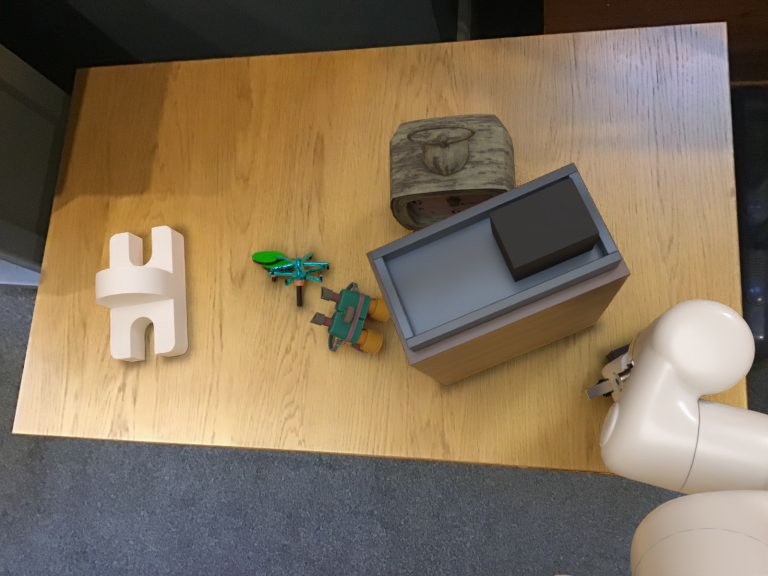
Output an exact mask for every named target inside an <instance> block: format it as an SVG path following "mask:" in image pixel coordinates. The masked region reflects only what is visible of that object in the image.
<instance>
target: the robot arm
mask: <svg viewBox="0 0 768 576" xmlns="http://www.w3.org/2000/svg"><path fill="white" fill-rule="evenodd" d="M629 344H630V346H629V350H628V352H626V353H625V354H623V355H621V356H620V357H618V358H616V359H615V360H613V361H612V362H610V363H609V362H608V363H607V364H606V365H604V367H602V370H601V375H602V378H601V379H598V380H597V382H596V384H594V385H593V386H590V387H588V388H586V389H584V390H583V391H584V393H585V395H586V397H587V399H588V401H590V400H593V399H595V398H597V397H600V396H602V397H605V398H608V397H611V398H612V400H613V402H614V403H613V404H612V405H611V406H610V407H609V409H608V411H607V413H606V415H605V418H604V420H603V424H602V425H601V430H600V432H599V442H598V443H599V449H600V458H601V461H602V463H603V466H605V467H606V469H607V470H609V471H610V472H611V473H613V474H615V475H617V476H619V477H622V478H625V479H628V480H631V481H635V482H639V483H643V484H647V485H651V486H654V487H657V488H661V489H665V490H669V491H673V492H677V493H681V494H685V495H682V496H679V497H675V498H673V499H670V500H667V501H665V502H663V503H662V504H660V505H658V506H656V507H655V508H654V509H653V510H651V511H650V512H648V514H647V515H646V516H645V517H644V518H643V519H642V520H641V521H640V523H639V525H638V526H637V527H636V529H635V532H634V535H633V536H632V539H631V540H632V541H631V544H630V552H629V553H630V554H629V565H630V573H631V576H768V414H766V413H762V412H760V411H755V410H753V409H752V410H751V409H749V408H748V409H747V408H743V407H740V406H735V405H729V404H725V403H721V402H717V401H712V400H708V399H705V398H704V399H703V398H702V397H707V396H711V395H717V394H720V393H724V392H726V391H728V390H730V389H732V388H734V387H735V386H737V385H738V384H739V383H740V382H741V381H743V380H744V378H745V377H746V376H747V375H748V373H749V372H750V370H751V368H752V366H753V363H754V360H755V353H756V348H755V347H756V345H755V338H754V336H753V333H752V330H751V328H750V326H749V324H748V323H747V322H746V320H745V319H744V318H743V317H742V316H741V315H740V313H738V312H737V311H736V310H735V309H734V308H732V307H730V306H728V305H726V304H725V303H723V302H719V301H717V300H712V299H707V298H706V299H705V298H693V299H687V300H683V301H680V302H678V303H676V304H674V305H672V306H670V307H669V308H667V309H666V310H665V311H664V312H662V313H661V314H659V316H657V317H656V318H655V319H654V320H653V321H651V322H650V323H649V324H647V326H645V327H644V328H642V329H641V330H640V331H639V332H638V333H637V334H636V335H635V336H634V337H633V339H632V340H631V342H630V343H629ZM554 576H572V574H571V575H570V574H555V575H554Z"/></svg>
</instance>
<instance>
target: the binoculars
mask: <svg viewBox="0 0 768 576" xmlns="http://www.w3.org/2000/svg"><path fill="white" fill-rule="evenodd" d="M320 299H321V300H324V301H326V302H333V303H335V305H334V310H335V311H334V312H333V313H332V315H331V317H329V316H326V314H324V313H321V312H318V311H316V312H315V313H314V314H313V316H312V318H311V320H310V321H309V323H311V324H314V325H317V326H320V327H321V326H323V327H327V334H328V338H327V339H328V340H327V346H328V347H327V348H328V351H330V352H333V353H336V352H337V351H338V350H339V348H341V346H342V345H343V344H344V345H346V344H348V343H349V344H350V347H351V348H353V350H356V351H358V352H360V353H364V352H367V353H369V354H371V355H376V354H377V353H379V351H380V349H381V348H382V345H383V341H384V335H383V333H382V332H381V331H379V330H375V329H372V328H369V327H367V328H363V327H364V324H365V320H367V321H369V322H370V323H374V321H375V320H377V321H379V322H382V323H385V322H387V321H388V320H389V318H391V316H390V313H389V311H388V308H387V306H386V303H385V301H384V298H383V297H381V296H376V297H375V298H374V297H371V296H370V295H368V294H365V293H363V292H361V291H360V290H359V284H358V282H355V281H351V282H350V283H349V284H348V285H347V286H346V288H342V289H340V291H339V293H338V292H335V291H334V290H333V289H330V288H328V287H324V286H322V285H321V286H320ZM334 338H336V339H335V343H334Z"/></svg>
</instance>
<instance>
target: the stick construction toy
mask: <svg viewBox="0 0 768 576" xmlns="http://www.w3.org/2000/svg"><path fill="white" fill-rule="evenodd" d="M308 260H310V261H308ZM311 260H313V253H312V252H307V254H305V255H303V257H300V256H296V257H295V258H289V257H286V256H285V254H284V253H283V252H281V251H277V250H276V251H275V250H263V251H257V252H253V254H252V255H251V261H252V262H253V263H255V264H256V265H260V266H261V268H262V269H263V270H265V271H267V275H268V276H270V277H271V283H276V282H277V277H278V276H284V277H285V276H286V277H290V278H284V281H283V282H284V287H288V286H289V285H291V284H292V283H293V285H294V286H295V290H296V292H295V293H296V294H295V295H296V307H298V308H302V307H303V305H304V304H303V285H305V281H307V280H309V281H312V282H316V283H321V284H322V283H323V275H322V274H320V275H319V277H317V276H314V275H311V274H314V273H318V272H321V271H325V270H327V271H329V270H330V262H325V261H324V262H321V261H311ZM305 267H314V268H310V269H309V268H308V269H305ZM291 270H293V271H291Z"/></svg>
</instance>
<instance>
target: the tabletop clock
mask: <svg viewBox="0 0 768 576" xmlns="http://www.w3.org/2000/svg"><path fill="white" fill-rule="evenodd" d="M388 151H389V208H390V211H391V214H392V217H393V218H394V219H395V221H396V222H397V223H398V224H399V225H400V226H402V227H403V228H404V229H406V230H409V231H410V232H411V231H412V232H416V231H418V230H420V229H423V228H425V227H427V226H429V225H432V224H434V223H436V222H438V221H441V220H443V219H445V218H448V217H450V216H452V215H454V214H457V213H459V212H461V211H464V210H466V209H468V208H470V207H473V206H475V205H477V204H479V203H482V202H484V201H486V200H489V199H491V198H493V197H495V196H498V195H500V194H502V193H505V192H507V191H509V190H511V189H514V188H516V187H517V184H516V182H517V181H516V165H515V163H516V162H515V148H514V143H513V138H512V136H511V134H510V132H509V130H508V129H507V128H506V126H505V125H504V123H503V122H502V120H501V119H500V118H499V117H498V116H497V115H496V114H491V113H469V114H460V115H459V114H458V115H457V114H456V115H446V116H438V117H437V116H436V117H430V118H420V119H414V120H408V121H406V122H405V121H404V122H403V123H399V125H398V126H397V128H396V130H395V132H394V133H393V135H392V137H391V138H390V141H389V149H388Z"/></svg>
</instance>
